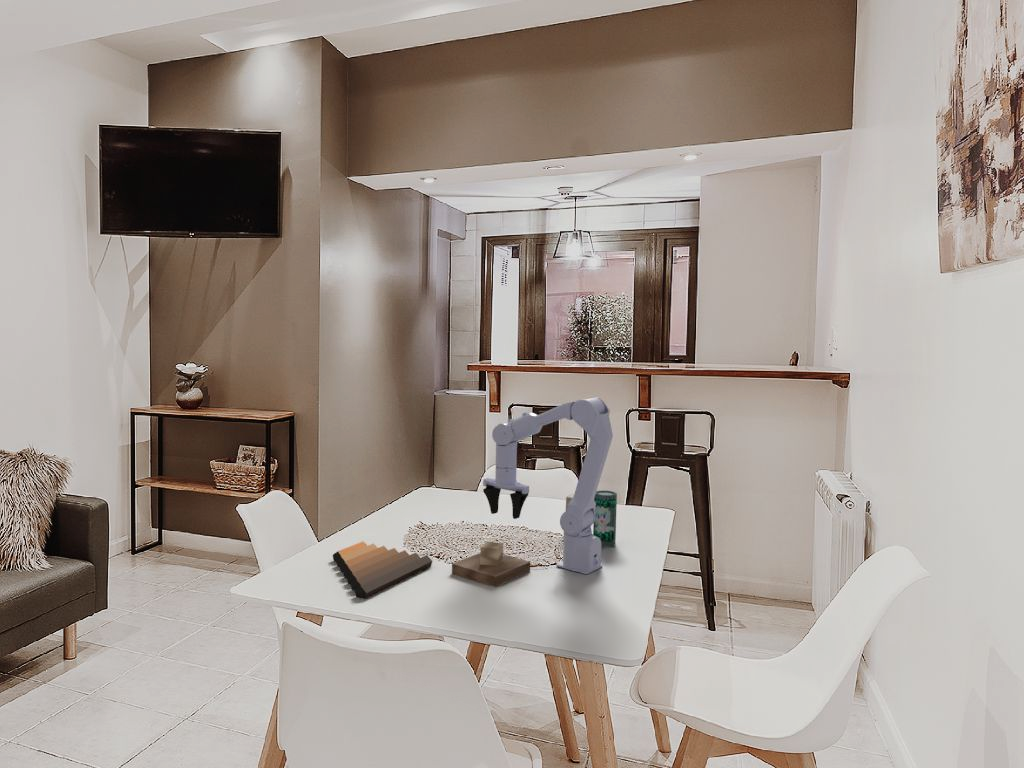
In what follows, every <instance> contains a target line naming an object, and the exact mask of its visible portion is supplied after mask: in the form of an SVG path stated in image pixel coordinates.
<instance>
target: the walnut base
mask: <svg viewBox="0 0 1024 768" xmlns="http://www.w3.org/2000/svg"><path fill="white" fill-rule="evenodd" d="M530 572H531V561H529V560H525V559H522V558H518V557H514V556H511V555H506V554H504V553H503V561H502V562H501V563H500V564H499V565H498V566H490V565H481V564H480V553H477V554H474V555H472V556H469V557H466V558H464V559H460V560H457V561H455V562H453V563H451V574H453V575H456V576H458V577H461V578H465V579H468V580H471V581H475V582H478V583H481V584H483V585H488V586H490V587H494V588H496V587H499V586H501V585H503V584H505V583H507V582H509V581H512V580H515V579H517V578H519V577H521V576H523V575H525V574H527V573H530Z"/></svg>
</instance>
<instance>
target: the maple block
mask: <svg viewBox="0 0 1024 768" xmlns="http://www.w3.org/2000/svg"><path fill="white" fill-rule="evenodd" d="M503 554H504V543H502V542H496V541H495V542H494V541H493V542H492V541H485V542H484V543H483V544H481V545H480V564H481V565H490V566H498V565H499V564H500V563H501V562H502V561H503Z"/></svg>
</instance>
